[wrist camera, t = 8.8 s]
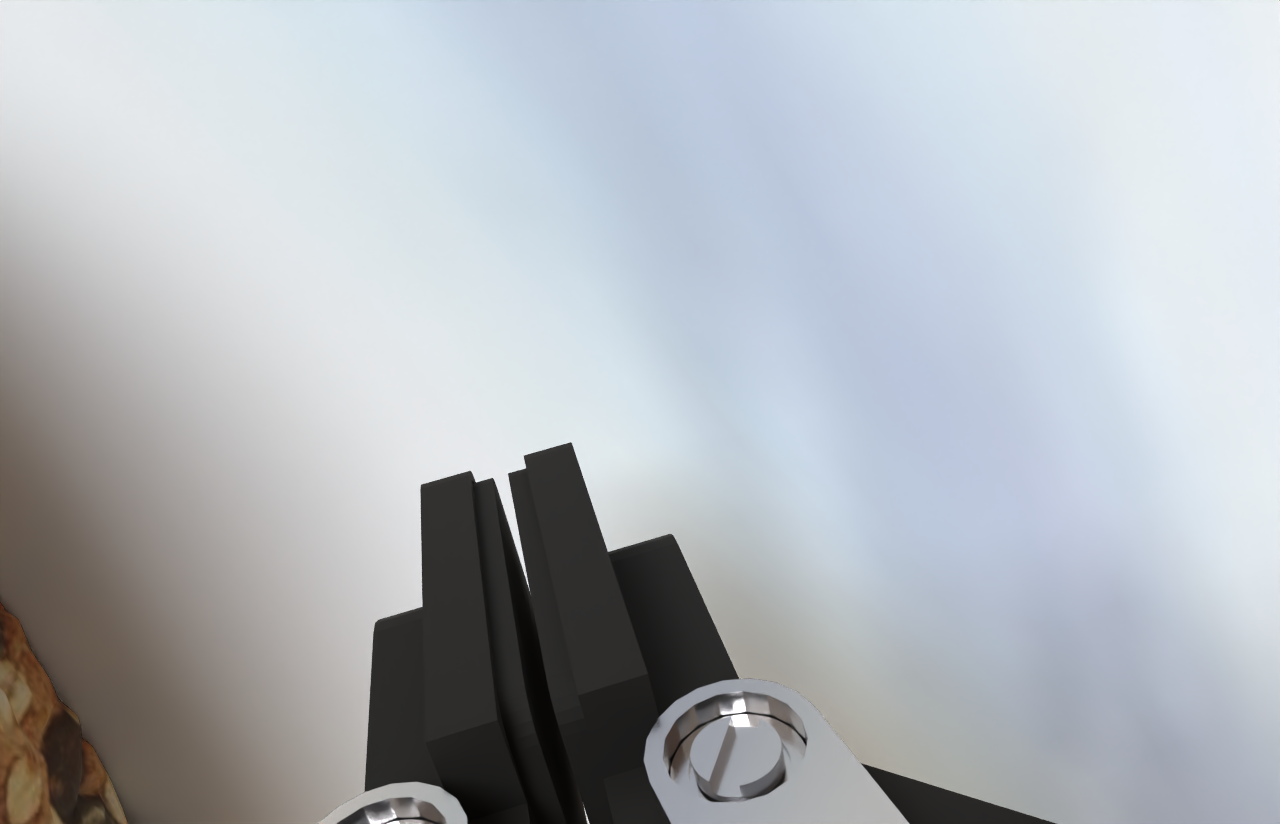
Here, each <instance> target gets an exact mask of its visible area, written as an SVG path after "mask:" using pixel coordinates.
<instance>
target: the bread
mask: <svg viewBox="0 0 1280 824" xmlns="http://www.w3.org/2000/svg"><path fill="white" fill-rule="evenodd" d="M0 824H128V823H127V820H126V817H125V814H124V811H123V809H122V806H121V804H120V802H119V799H118V797H117V794H116V792H115V790H114V787H113V785H112V782H111V780H110V778H109V775H108V774H107V772H106V770H105V768H104V767H103V765H102V763H101V761H100V759H99V758H98V756H97V754H96V752H95V750H94V749H93V747H92V746H91V745H90V744H89V743H87V742H86V741H85V740H83V739H82V738H81V724H80V722H79V719H78V717H77V715H76V714H75V713H74V712H73V711H71V710H70V709H69V708H68V707H67V706H66V705H64V704H63V703H62V702H61V701H60V700H59V699H58V697H57V694H56V692H55V690H54V688H53V685H52V683H51V681H50V679H49V677H48V675H47V674H46V672H45V671H44V669H43V668H42V666H41V665H40V663H39V662H38V660H37V658H36V657H35V655H34V654H33V652H32V650H31V648H30V646H29V643H28V641H27V639H26V636H25V634H24V632H23V629H22V627H21V625H20V622H19V620H18V619H17V618H15V617H14V616H12V615H11V614H10V613H8V612H7V611H5V609H4V607H3V605H2V604H1V602H0Z"/></svg>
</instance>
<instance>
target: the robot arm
mask: <svg viewBox="0 0 1280 824" xmlns="http://www.w3.org/2000/svg"><path fill="white" fill-rule="evenodd" d="M524 460H525V464H526V469H523V470H519V471H516V472H512V473H509V474H508V476H509V482H510V487H511V492H512V498H513V503H514V508H515V513H516V519H517V524H518V529H519V535H520V540H521V545H522V551H523V556H524V561H525V567H526V572H527V577H528V583H529V588H530V591H529V588H528V585H527V582H526V578H525V575H524V572H523V569H522V566H521V563H520V559H519V556H518V553H517V550H516V547H515V544H514V540H513V537H512V534H511V531H510V528H509V524H508V521H507V518H506V515H505V512H504V509H503V505H502V502H501V499H500V496H499V493H498V490H497V487H496V484H495V481H494V479H493V478H491V479H487V480H484V481H480V482H477V483H476V482H475V479H474V477H473V474H472V472H471V471H468V472H464V473H461V474H457V475H454V476H450V477H447V478H443V479H440V480H436V481H433V482H429V483H426V484H422V485H421V541H422V597H423V607H421V608H417V609H414V610H411V611H407V612H404V613H400V614H397V615H394V616H390V617H387V618H383V619H380V620H378V621H377V622H376V623H375V627H374V634H373V652H372V670H371V687H370V705H369V723H368V741H367V759H366V777H365V792H364V793H362V794H360V795H358V796H356V797H355V798H353V799H351V800H349V801H347V802H346V803H344V804H342V805H340V806H338V807H337V808H336V809H335V810H333V811H332V812H331V813H330V814H329V815H327V816H326V817H325V818H324V819H323V820H321V821H320V822H319V823H318V824H587V821H586V816H585V811H584V807H585V810H586V813H587V817H588V820H589V823H590V824H1055V823H1052V822H1049V821H1046V820H1042V819H1039V818H1036V817H1033V816H1030V815H1026V814H1023V813H1020V812H1017V811H1013V810H1010V809H1007V808H1004V807H1000V806H997V805H994V804H991V803H987V802H984V801H981V800H978V799H975V798H971V797H968V796H965V795H962V794H958V793H955V792H952V791H949V790H945V789H942V788H939V787H936V786H932V785H929V784H926V783H923V782H920V781H916V780H913V779H910V778H907V777H903V776H900V775H897V774H894V773H890V772H887V771H884V770H881V769H877V768H874V767H871V766H868V765H865V764H861V763H860V762H859V761H858V759H857V758H856V757H855V756H854V754H853V753H852V752H851V751H850V749H849V748H848V747H847V746H846V744H845V743H844V742H843V741H842V739H841V738H840V737H839V736H838V734H837V733H836V732H835V731H834V730H833V728H832V727H831V726H830V725H829V723H828V722H827V721H826V720H825V718H824V717H823V716H822V715H821V713H820V712H819V711H818V710H817V708H816V707H815V706H814V705H812V704H811V703H810V702H809V701H808V700H807V699H806V698H804V697H803V696H802V695H801V694H800V693H799V692H797V691H795V690H792V689H790V688H788V687H785V686H783V685H781V684H778V683H776V682H771V681H764V680H757V679H751V678H748V679H739V678H738V675H737V673H736V671H735V669H734V667H733V664H732V662H731V660H730V658H729V656H728V653H727V651H726V649H725V647H724V645H723V642H722V640H721V638H720V636H719V634H718V631H717V629H716V627H715V625H714V623H713V620H712V618H711V616H710V614H709V612H708V609H707V607H706V605H705V603H704V601H703V598H702V596H701V594H700V592H699V590H698V588H697V585H696V583H695V581H694V579H693V577H692V574H691V572H690V570H689V568H688V566H687V563H686V561H685V559H684V557H683V555H682V552H681V550H680V548H679V546H678V544H677V542H676V540H675V538H674V536H673V535H672V534H668V535H665V536H661V537H658V538H655V539H651V540H648V541H644V542H641V543H638V544H634V545H631V546H628V547H624V548H621V549H617V550H614V551H611V552H608V551H607V548H606V545H605V542H604V539H603V536H602V533H601V530H600V527H599V524H598V521H597V518H596V515H595V512H594V509H593V506H592V503H591V500H590V497H589V494H588V491H587V488H586V485H585V482H584V479H583V476H582V473H581V470H580V467H579V464H578V461H577V458H576V455H575V452H574V449H573V446H572V443H567V444H563V445H560V446H556V447H553V448H549V449H546V450H542V451H539V452H535V453H532V454H528V455H525V456H524ZM530 593H531V594H530ZM583 804H584V806H583Z"/></svg>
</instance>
